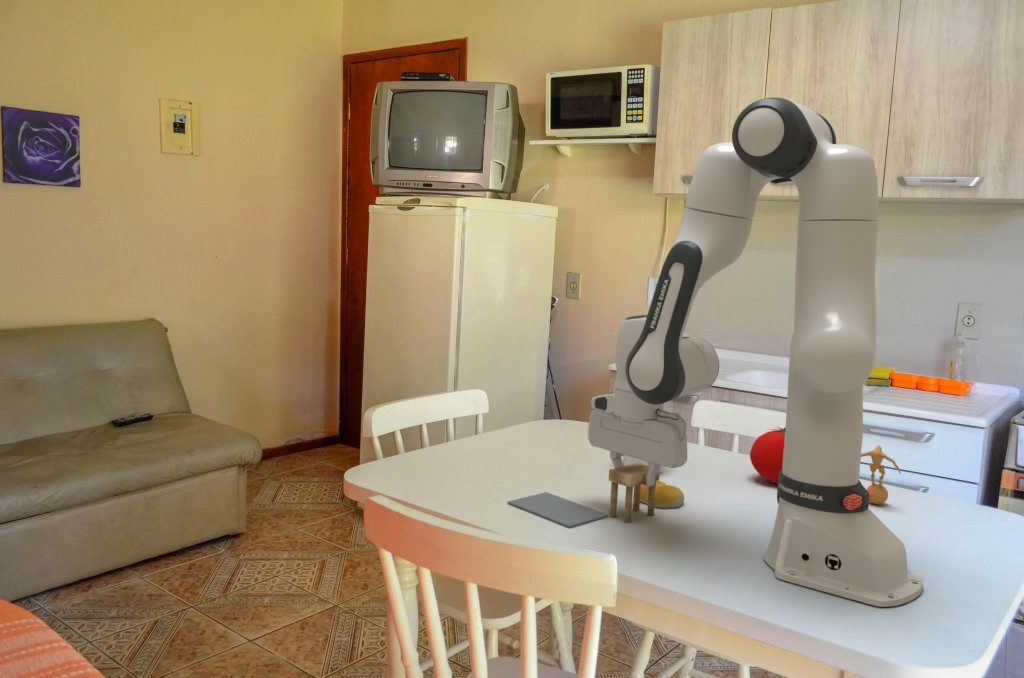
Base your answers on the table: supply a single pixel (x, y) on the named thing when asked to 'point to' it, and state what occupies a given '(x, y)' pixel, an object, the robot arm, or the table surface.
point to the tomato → (769, 454)
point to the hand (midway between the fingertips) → (633, 480)
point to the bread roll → (663, 495)
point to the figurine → (880, 490)
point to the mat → (558, 509)
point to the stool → (630, 489)
